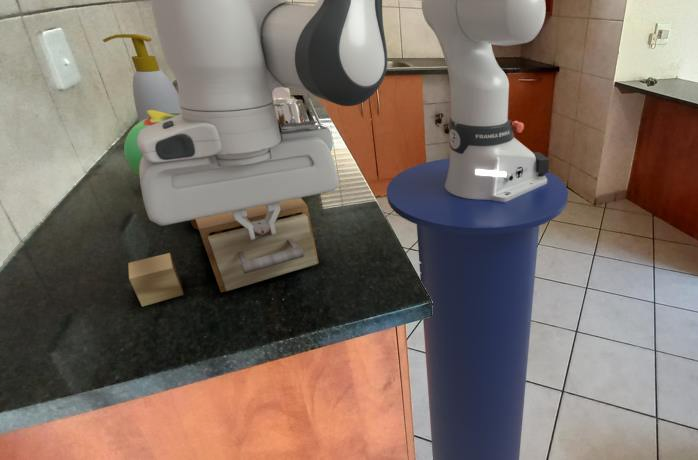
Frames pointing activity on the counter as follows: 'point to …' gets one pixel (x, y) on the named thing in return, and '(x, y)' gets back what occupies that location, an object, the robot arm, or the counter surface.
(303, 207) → the cabinet
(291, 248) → the drawer
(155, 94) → the soap bottle
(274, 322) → the counter surface
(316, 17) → the robot arm
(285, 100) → the beer glass
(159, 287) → the block
